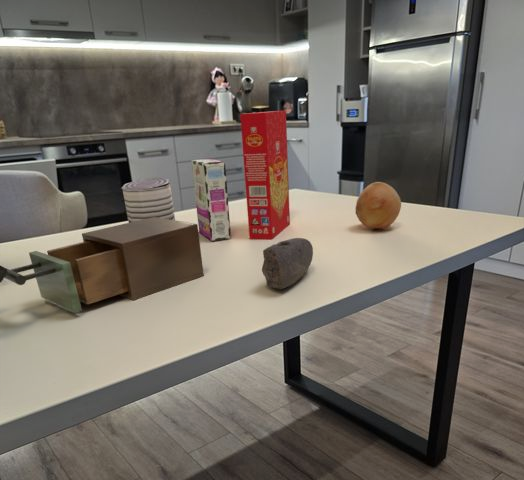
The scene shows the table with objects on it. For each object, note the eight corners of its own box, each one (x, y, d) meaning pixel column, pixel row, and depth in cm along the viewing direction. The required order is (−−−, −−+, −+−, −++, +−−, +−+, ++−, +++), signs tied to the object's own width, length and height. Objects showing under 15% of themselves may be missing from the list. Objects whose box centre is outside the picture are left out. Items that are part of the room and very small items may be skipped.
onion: (408, 230, 105) (411, 182, 100) (365, 235, 103) (367, 187, 98) (387, 222, 113) (390, 177, 109) (348, 226, 111) (349, 181, 107)
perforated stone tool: (298, 265, 87) (296, 227, 83) (324, 268, 84) (324, 229, 81) (254, 293, 75) (251, 249, 72) (283, 297, 73) (281, 252, 70)
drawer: (36, 326, 66) (20, 275, 63) (4, 308, 73) (-11, 261, 70) (152, 287, 78) (144, 242, 75) (115, 274, 85) (106, 234, 82)
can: (186, 229, 119) (179, 178, 114) (149, 239, 112) (140, 186, 107) (157, 224, 126) (149, 177, 121) (121, 234, 119) (111, 183, 113)
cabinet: (132, 300, 76) (121, 243, 71) (93, 285, 84) (81, 233, 80) (203, 275, 85) (197, 224, 81) (162, 264, 93) (154, 216, 89)
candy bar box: (232, 238, 108) (226, 160, 100) (211, 242, 106) (203, 163, 99) (218, 229, 117) (211, 157, 110) (198, 232, 116) (189, 159, 108)
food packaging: (272, 239, 105) (265, 112, 94) (249, 238, 107) (240, 114, 96) (289, 224, 118) (285, 110, 106) (269, 223, 119) (263, 112, 108)
